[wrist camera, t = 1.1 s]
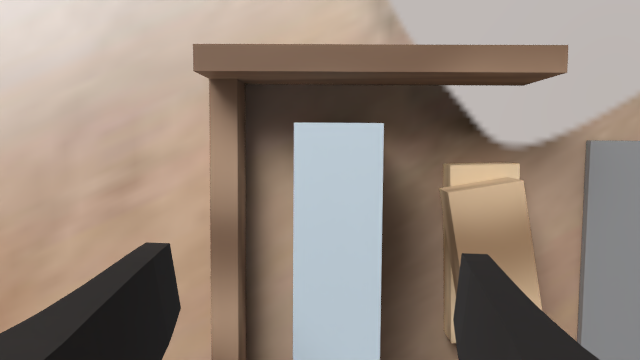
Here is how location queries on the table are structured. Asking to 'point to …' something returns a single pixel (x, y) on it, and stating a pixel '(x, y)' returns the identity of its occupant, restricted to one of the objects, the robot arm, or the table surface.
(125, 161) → the table surface
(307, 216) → the pale blue block
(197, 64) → the rack
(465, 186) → the offcut upper
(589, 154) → the grey block
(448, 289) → the offcut lower
